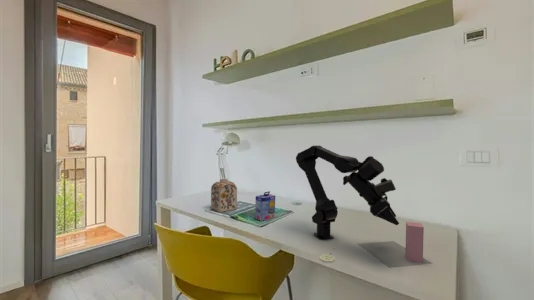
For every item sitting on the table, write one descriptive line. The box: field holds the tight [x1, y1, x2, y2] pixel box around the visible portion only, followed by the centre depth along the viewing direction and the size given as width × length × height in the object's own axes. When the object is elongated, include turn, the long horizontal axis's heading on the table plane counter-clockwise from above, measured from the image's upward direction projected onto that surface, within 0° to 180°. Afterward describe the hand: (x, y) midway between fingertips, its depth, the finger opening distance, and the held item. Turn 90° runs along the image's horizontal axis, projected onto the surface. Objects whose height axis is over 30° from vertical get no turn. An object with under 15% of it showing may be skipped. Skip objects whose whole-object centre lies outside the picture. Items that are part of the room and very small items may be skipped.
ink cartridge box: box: [254, 191, 276, 222], centre depth 132 cm, size 10×6×14 cm, turn 132°
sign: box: [319, 247, 336, 264], centre depth 91 cm, size 5×1×15 cm
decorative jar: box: [210, 178, 238, 213], centre depth 150 cm, size 12×12×18 cm
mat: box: [357, 240, 432, 268], centre depth 91 cm, size 19×16×1 cm
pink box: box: [405, 221, 425, 263], centre depth 85 cm, size 5×4×12 cm
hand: (396, 220), depth 87 cm, fingers open, 9 cm apart
